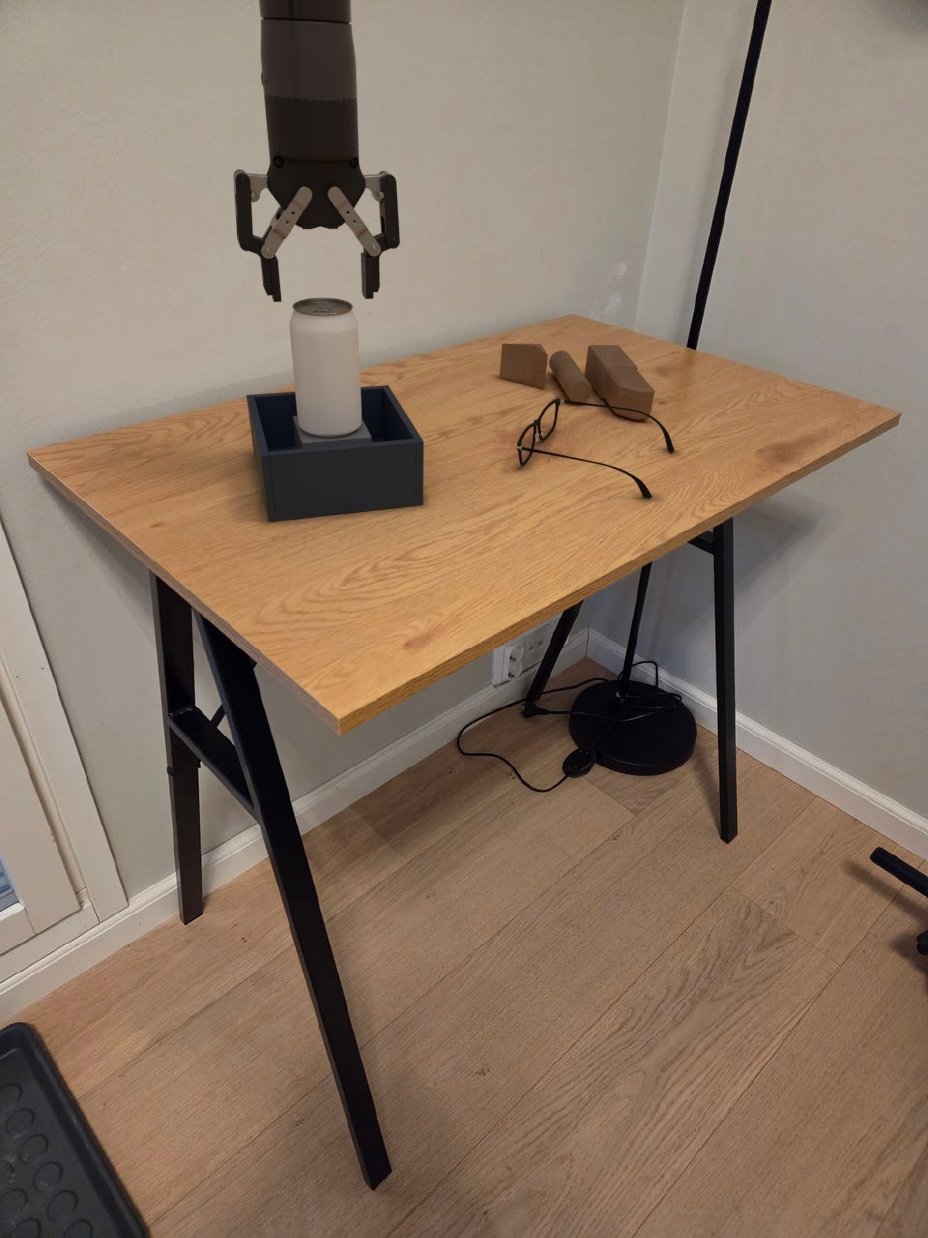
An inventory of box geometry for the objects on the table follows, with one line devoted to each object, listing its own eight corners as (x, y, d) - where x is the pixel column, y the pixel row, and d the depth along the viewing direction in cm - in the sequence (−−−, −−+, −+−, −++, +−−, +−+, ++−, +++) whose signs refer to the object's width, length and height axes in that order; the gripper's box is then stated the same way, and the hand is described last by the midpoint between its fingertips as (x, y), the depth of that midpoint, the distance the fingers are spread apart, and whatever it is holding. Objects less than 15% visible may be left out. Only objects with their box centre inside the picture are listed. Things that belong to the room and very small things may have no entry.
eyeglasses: (552, 422, 100) (555, 392, 97) (677, 447, 95) (684, 415, 93) (507, 475, 87) (510, 441, 85) (648, 506, 83) (655, 471, 80)
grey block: (305, 488, 81) (301, 442, 78) (296, 459, 86) (292, 415, 83) (373, 481, 83) (371, 436, 80) (360, 453, 88) (358, 410, 85)
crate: (268, 522, 77) (260, 455, 73) (253, 454, 89) (246, 394, 85) (423, 504, 81) (423, 441, 77) (389, 442, 93) (388, 384, 89)
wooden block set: (618, 335, 112) (659, 380, 98) (612, 374, 115) (651, 423, 101) (501, 334, 110) (525, 380, 95) (498, 374, 113) (521, 424, 99)
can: (367, 416, 84) (363, 298, 76) (354, 441, 78) (349, 317, 71) (307, 412, 84) (298, 294, 77) (291, 436, 79) (279, 312, 72)
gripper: (223, 90, 60) (248, 312, 69) (406, 96, 63) (406, 306, 73) (217, 84, 65) (241, 290, 75) (386, 90, 69) (388, 285, 79)
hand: (323, 298), depth 74 cm, fingers open, 8 cm apart
